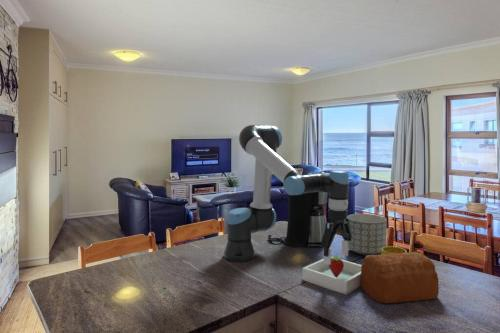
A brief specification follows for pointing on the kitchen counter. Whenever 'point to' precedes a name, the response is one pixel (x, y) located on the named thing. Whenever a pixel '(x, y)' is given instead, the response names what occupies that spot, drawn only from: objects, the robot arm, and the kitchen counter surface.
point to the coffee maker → (305, 220)
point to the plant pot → (392, 250)
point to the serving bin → (325, 278)
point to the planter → (367, 233)
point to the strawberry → (336, 266)
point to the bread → (399, 277)
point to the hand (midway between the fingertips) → (336, 259)
